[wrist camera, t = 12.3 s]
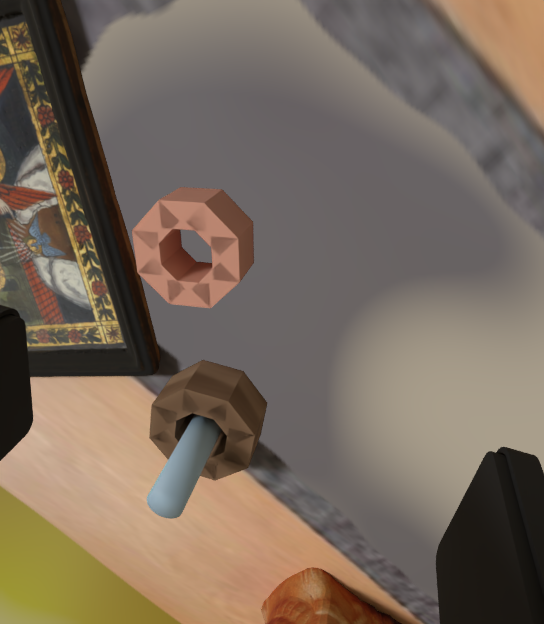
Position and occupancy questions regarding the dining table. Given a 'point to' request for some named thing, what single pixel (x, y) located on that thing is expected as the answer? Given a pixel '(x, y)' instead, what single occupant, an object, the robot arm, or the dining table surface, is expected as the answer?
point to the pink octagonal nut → (177, 262)
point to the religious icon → (62, 211)
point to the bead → (211, 414)
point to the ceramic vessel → (318, 602)
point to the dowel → (183, 468)
